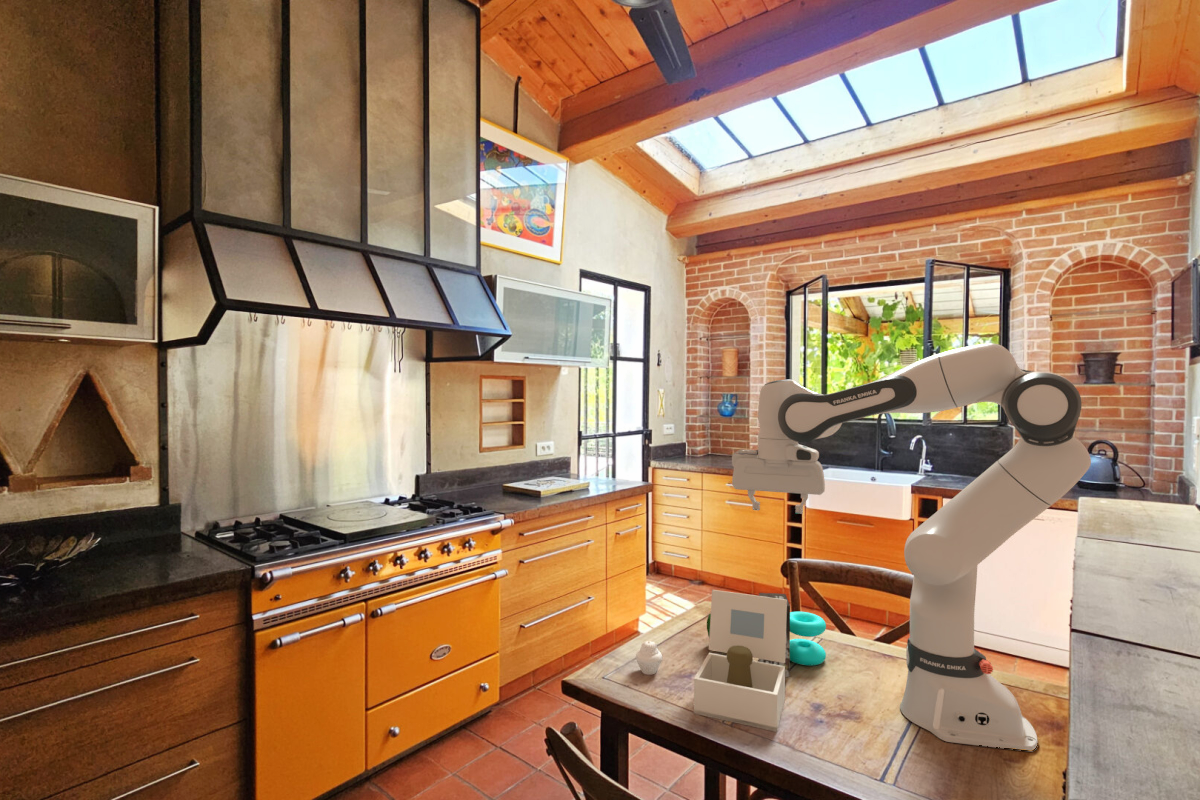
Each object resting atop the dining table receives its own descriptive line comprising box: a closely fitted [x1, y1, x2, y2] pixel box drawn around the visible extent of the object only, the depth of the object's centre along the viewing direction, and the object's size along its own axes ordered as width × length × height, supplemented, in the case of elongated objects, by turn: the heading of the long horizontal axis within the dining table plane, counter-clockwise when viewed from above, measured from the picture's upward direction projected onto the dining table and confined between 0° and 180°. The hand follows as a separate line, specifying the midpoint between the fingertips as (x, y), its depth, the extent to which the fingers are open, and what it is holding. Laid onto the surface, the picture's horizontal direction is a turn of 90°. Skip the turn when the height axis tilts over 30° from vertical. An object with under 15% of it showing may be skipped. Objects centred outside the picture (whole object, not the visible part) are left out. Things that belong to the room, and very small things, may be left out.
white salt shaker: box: [635, 640, 663, 676], centre depth 136 cm, size 6×6×7 cm
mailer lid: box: [708, 589, 787, 663], centre depth 128 cm, size 16×13×1 cm
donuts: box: [790, 611, 827, 666], centre depth 143 cm, size 10×10×10 cm
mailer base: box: [693, 652, 786, 733], centre depth 121 cm, size 16×13×7 cm
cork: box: [726, 646, 754, 688], centre depth 121 cm, size 6×6×11 cm
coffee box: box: [758, 592, 791, 678], centre depth 138 cm, size 9×6×16 cm
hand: (777, 511), depth 135 cm, fingers open, 8 cm apart
